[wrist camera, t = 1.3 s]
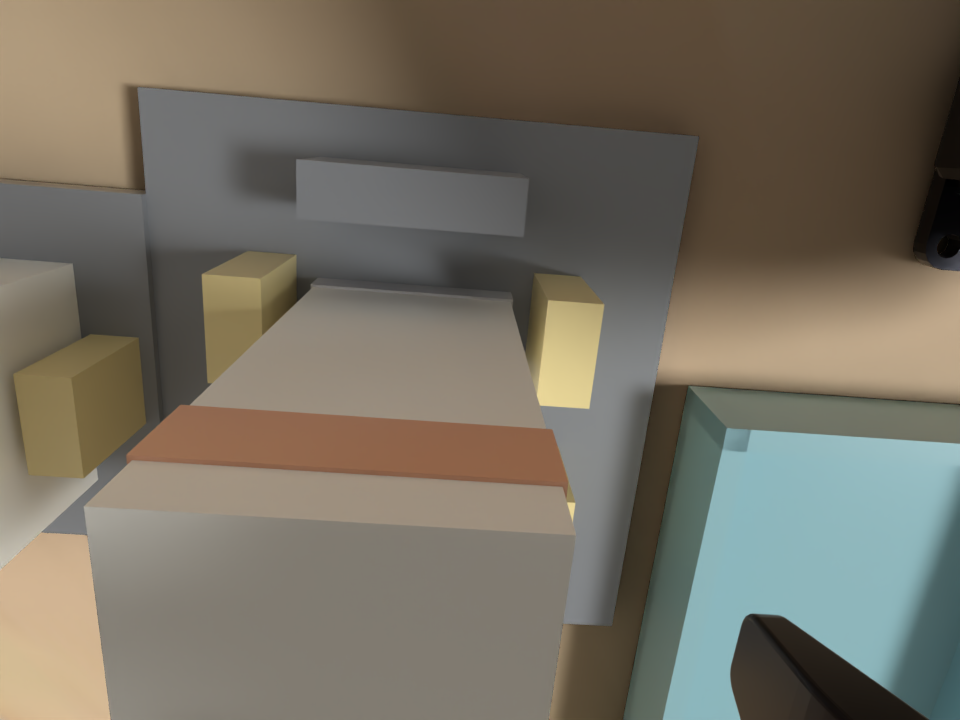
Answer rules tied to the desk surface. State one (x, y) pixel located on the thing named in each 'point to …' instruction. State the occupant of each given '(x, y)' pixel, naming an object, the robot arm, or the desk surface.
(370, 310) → the block
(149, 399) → the fuse block
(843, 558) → the tray
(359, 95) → the desk surface
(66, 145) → the desk surface
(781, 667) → the robot arm
